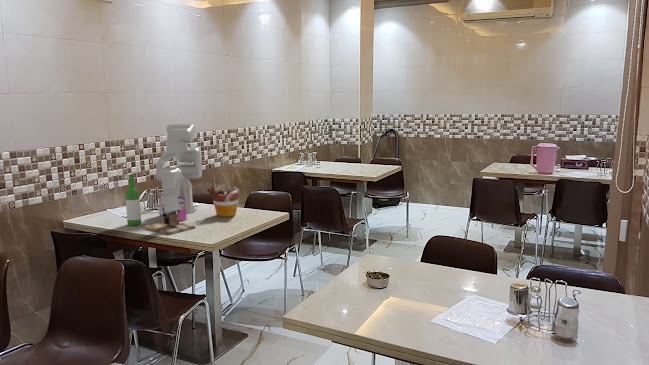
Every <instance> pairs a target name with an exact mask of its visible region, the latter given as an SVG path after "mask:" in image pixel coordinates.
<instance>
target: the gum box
mask: <svg viewBox="0 0 649 365" xmlns="http://www.w3.org/2000/svg"><path fill="white" fill-rule="evenodd" d="M178 199H179V205H180V207H181V208H182V209H181V210H180V212H179V213H178V214H179V222H183V221H187V220H188V219H187V213H186V199H185V198H182V197H179V196H178ZM160 201H161V194H158V207H159V208H158V212H159V211H160ZM163 213H164V212H163ZM172 213H173V211H172ZM159 216H160V217H162V218H163V216H162V215H161V214H159Z"/></svg>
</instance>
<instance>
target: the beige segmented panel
mask: <svg viewBox="0 0 649 365" xmlns="http://www.w3.org/2000/svg"><path fill="white" fill-rule="evenodd" d="M184 223H185V222H183V221H179V224H178V225H180V224H184ZM174 226H176V225H174ZM168 227H172V226H170V225H166V224H163V221H161V222H157V223H153V224H152V223H151V224H147V225H145V226H144V228H145V229H146V230H149V231H153V232H158V233H160V232H159V230H160V229H164V228H168Z"/></svg>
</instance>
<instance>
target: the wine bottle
mask: <svg viewBox="0 0 649 365" xmlns="http://www.w3.org/2000/svg"><path fill="white" fill-rule="evenodd" d="M127 176H128V188H127V189H126V192H125V195H124V196H125V209H126V222H127V225H128V226H129V227H130V226H131V227H136V226H139V225H141V224H142V210H141V199H140V192H139V190H138V189H137V188H136V187H135V174H132V173H131V174H130V173H129V174H128V175H127Z"/></svg>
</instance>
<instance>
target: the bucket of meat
mask: <svg viewBox="0 0 649 365" xmlns="http://www.w3.org/2000/svg"><path fill="white" fill-rule="evenodd" d="M207 192H208V194H209V195H210V197H211V199H212V201H213V205H214V206H213V207H214V209H215V210H214V211H215V213H216V215H217V217H220V218H231V217H234V216H235V215H236V214H237V208H238V205H239V204H238V203H239V198H240V193H239V192H240V189H239V188H237V187H236V186H233V190H232V189H231V188H230V189H229V190H227V191H226V190H225V189H224V188H221V187H220V186H217V187H216V188H215V186H213V185H212V186H211V187H207Z"/></svg>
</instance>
